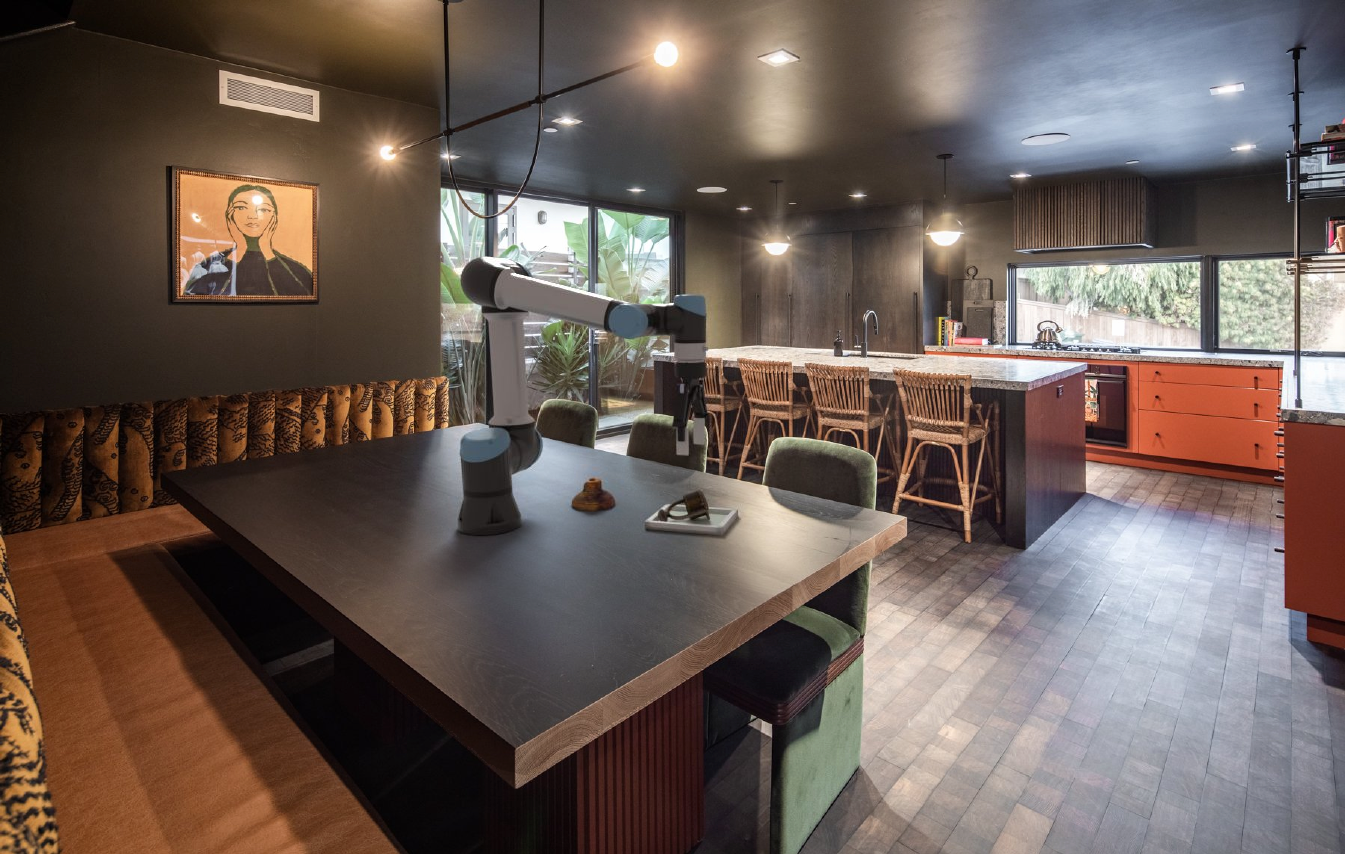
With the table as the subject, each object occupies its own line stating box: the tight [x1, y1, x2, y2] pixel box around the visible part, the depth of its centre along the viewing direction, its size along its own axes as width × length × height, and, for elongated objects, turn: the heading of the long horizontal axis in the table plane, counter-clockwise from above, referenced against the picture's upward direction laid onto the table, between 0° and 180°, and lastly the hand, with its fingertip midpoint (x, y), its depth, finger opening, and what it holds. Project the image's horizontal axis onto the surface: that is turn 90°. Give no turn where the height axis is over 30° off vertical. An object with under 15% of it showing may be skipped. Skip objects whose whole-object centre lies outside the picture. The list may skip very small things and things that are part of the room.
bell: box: [571, 477, 616, 512], centre depth 192 cm, size 12×12×7 cm
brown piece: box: [658, 489, 710, 522], centre depth 174 cm, size 7×13×10 cm
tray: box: [644, 503, 739, 536], centre depth 174 cm, size 19×16×2 cm
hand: (691, 449), depth 172 cm, fingers open, 13 cm apart
